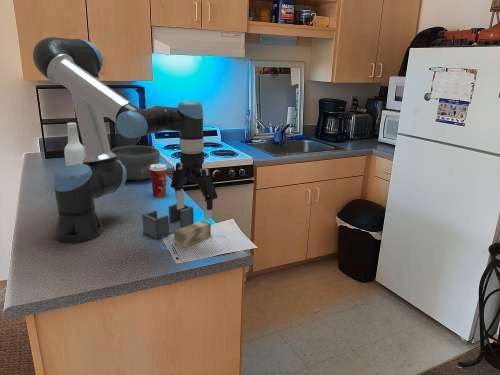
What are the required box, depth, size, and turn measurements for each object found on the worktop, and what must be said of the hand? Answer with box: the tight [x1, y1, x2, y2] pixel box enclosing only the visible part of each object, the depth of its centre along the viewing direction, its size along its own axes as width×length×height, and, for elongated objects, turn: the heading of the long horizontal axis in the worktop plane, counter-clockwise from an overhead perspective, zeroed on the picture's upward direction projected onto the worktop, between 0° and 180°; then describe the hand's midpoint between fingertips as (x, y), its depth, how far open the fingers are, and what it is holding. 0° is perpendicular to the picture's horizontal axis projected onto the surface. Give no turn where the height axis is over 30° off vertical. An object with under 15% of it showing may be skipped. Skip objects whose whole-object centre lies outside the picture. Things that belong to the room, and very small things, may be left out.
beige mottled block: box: [173, 219, 212, 248], centre depth 131 cm, size 13×4×5 cm, turn 140°
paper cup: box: [149, 163, 168, 198], centre depth 171 cm, size 8×8×14 cm
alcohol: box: [63, 122, 86, 167], centre depth 177 cm, size 9×9×30 cm
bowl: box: [110, 145, 161, 181], centre depth 195 cm, size 24×24×15 cm
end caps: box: [141, 203, 195, 240], centre depth 138 cm, size 17×8×7 cm, turn 140°
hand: (193, 213), depth 128 cm, fingers open, 13 cm apart
